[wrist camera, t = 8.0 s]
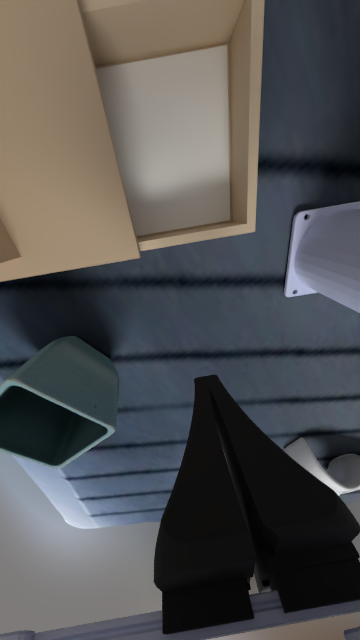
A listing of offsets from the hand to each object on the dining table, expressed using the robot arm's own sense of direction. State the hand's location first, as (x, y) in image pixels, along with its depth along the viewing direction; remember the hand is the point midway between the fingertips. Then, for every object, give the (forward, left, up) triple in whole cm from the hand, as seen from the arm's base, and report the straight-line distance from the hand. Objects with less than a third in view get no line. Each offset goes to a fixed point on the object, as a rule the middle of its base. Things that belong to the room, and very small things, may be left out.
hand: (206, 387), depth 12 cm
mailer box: (+3, -13, -10) cm, 17 cm away
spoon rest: (-25, +39, -11) cm, 47 cm away
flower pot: (+14, +4, -11) cm, 18 cm away
